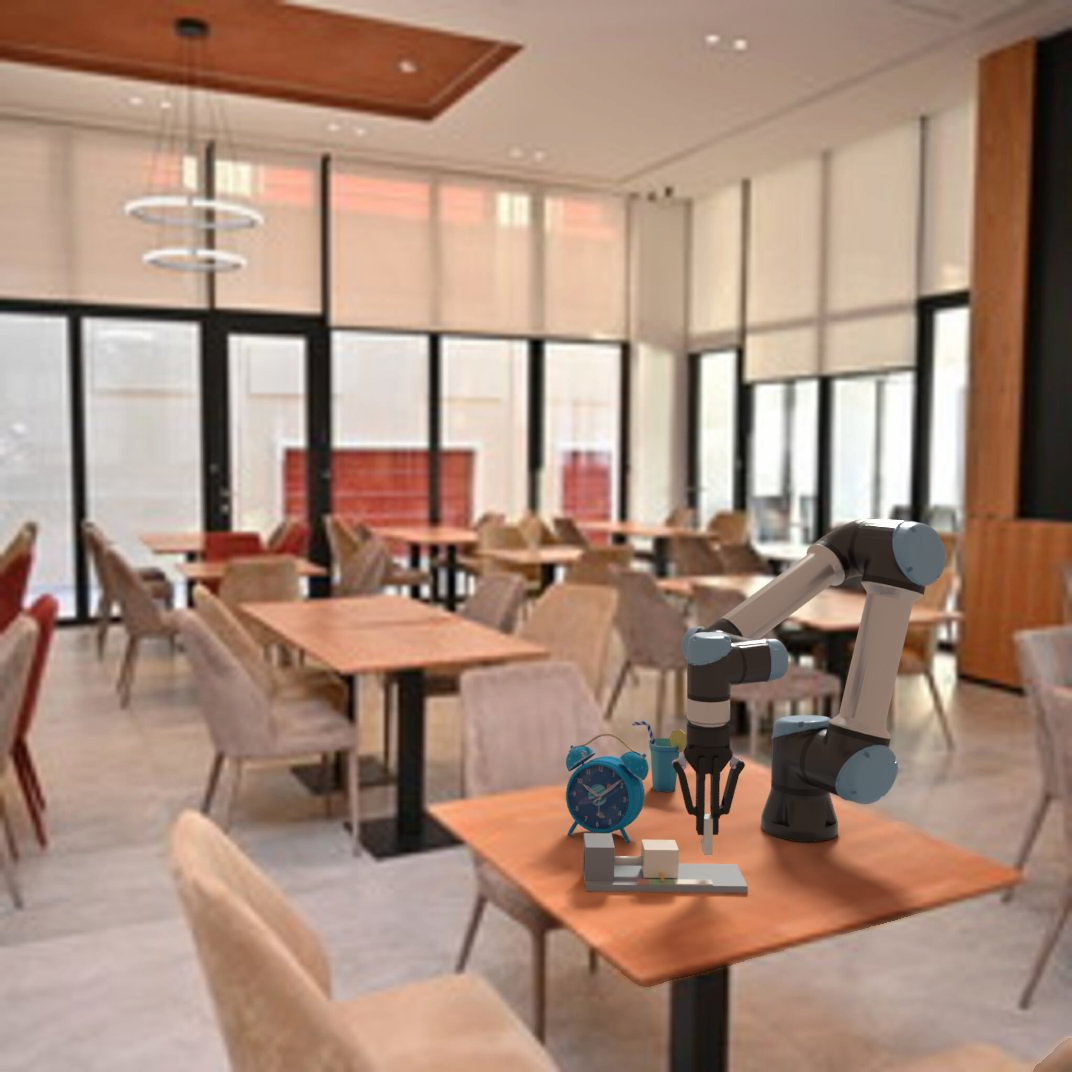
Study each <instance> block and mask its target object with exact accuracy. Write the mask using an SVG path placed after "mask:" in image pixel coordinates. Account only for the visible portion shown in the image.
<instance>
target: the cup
mask: <svg viewBox="0 0 1072 1072" xmlns="http://www.w3.org/2000/svg"><path fill="white" fill-rule="evenodd" d="M631 725H632V726H646V728H647V731H648V734H649V738H650V739H649V740H648V747H649V749H650V764H651V765H650V766H651V780H652V791H656V792H659V793H671V792H674V791H676V786H677V779H678V774H677V772H676V770H675V769H674V767H673V765H672V763H671V760H672V759H674V758H676V759H677V758H679V757H680V753H681V752H682V753H683V752H684V749H685V748H686V744H687V732H684V731H683V730H682V729H681V728H680V729H677V730H672V731H671V734H670V735H669V738H668V737H667V738H665V737H663V738H662V737H661V738H659V737H657V738H655V737H654V733H653V730H652V727H651V725H650V723H649V722H648V721H646V720H642V721H631Z"/></svg>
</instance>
